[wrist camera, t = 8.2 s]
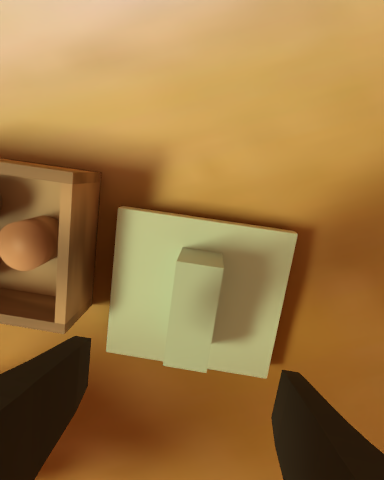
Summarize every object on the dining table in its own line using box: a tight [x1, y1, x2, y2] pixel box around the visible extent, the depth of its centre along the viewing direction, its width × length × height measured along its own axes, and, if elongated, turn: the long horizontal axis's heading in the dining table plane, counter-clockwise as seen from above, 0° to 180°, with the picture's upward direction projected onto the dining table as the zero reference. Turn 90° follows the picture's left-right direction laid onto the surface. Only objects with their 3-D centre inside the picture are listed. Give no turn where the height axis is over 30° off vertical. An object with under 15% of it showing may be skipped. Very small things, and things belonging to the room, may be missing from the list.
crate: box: [0, 158, 101, 334], centre depth 19 cm, size 9×10×4 cm
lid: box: [106, 206, 298, 379], centre depth 19 cm, size 10×11×5 cm
